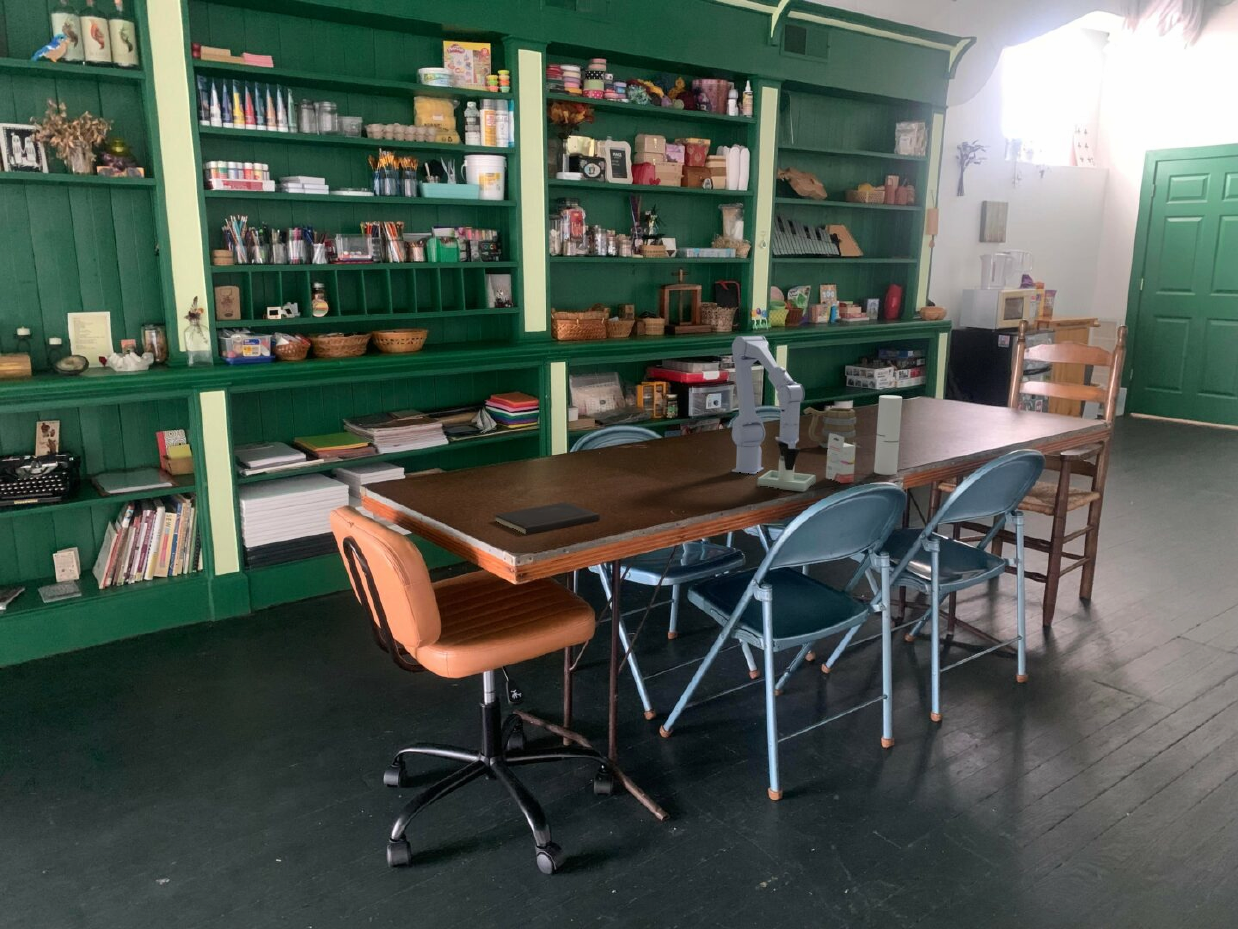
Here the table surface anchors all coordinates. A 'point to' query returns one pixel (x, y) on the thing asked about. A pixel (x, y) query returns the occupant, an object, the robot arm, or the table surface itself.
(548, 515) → the hardcover book
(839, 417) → the tankard
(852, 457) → the ink cartridge box
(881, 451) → the cylindrical container
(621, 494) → the table surface
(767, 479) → the tray
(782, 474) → the shaker
